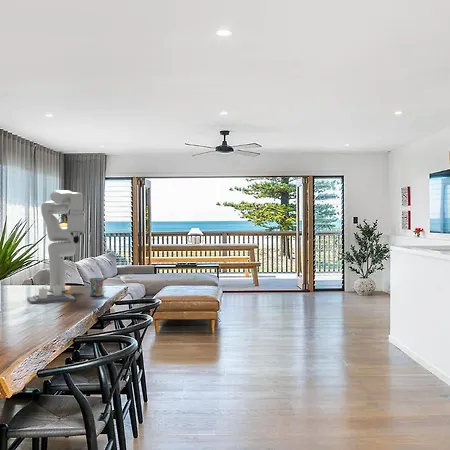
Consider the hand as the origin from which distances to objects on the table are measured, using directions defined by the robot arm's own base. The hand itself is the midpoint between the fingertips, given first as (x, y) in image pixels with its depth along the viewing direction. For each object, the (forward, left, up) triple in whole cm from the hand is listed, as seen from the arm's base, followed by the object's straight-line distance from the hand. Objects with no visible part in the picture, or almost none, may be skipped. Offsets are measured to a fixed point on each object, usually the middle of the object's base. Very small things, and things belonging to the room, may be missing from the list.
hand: (76, 243), depth 315 cm
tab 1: (+13, -21, -31) cm, 39 cm away
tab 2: (+5, -12, -31) cm, 33 cm away
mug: (+5, +11, -33) cm, 35 cm away
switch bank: (+9, -16, -32) cm, 37 cm away
